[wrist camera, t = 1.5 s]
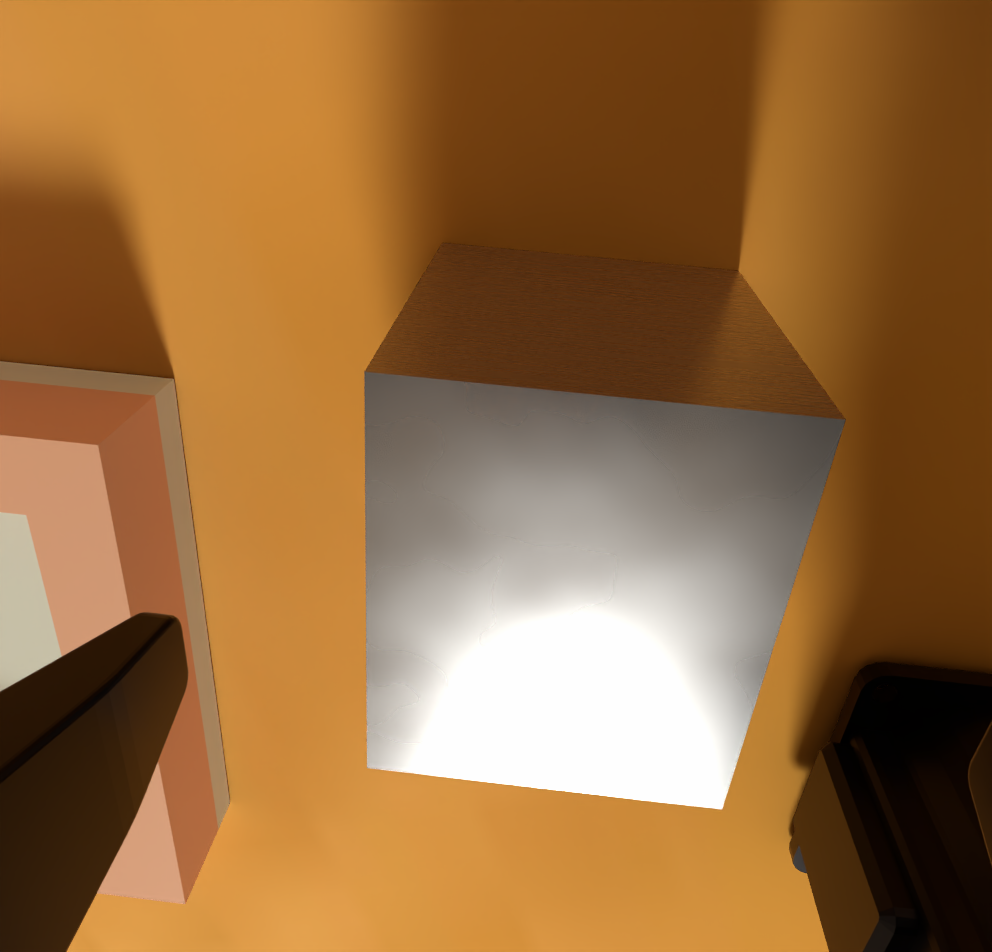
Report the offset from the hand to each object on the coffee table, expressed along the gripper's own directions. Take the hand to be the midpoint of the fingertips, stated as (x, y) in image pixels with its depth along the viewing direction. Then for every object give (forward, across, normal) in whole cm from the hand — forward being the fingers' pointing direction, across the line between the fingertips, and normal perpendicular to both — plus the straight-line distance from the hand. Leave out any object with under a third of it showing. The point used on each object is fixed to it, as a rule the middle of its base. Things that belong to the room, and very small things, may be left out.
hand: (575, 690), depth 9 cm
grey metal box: (+7, 0, 0) cm, 7 cm away
